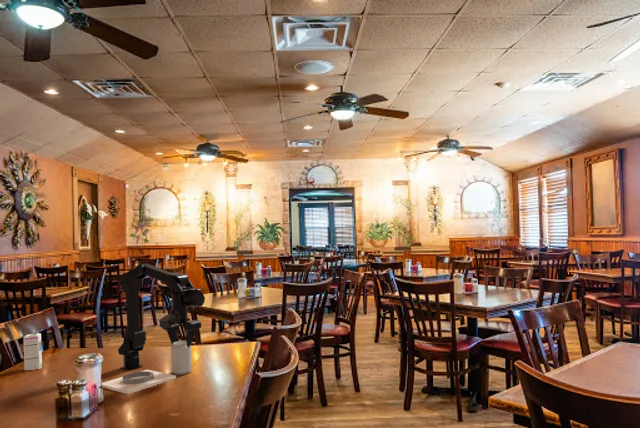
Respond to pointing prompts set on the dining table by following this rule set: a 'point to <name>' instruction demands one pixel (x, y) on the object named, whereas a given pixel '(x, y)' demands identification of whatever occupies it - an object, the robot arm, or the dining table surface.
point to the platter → (137, 381)
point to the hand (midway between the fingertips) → (180, 345)
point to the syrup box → (32, 351)
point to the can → (181, 358)
